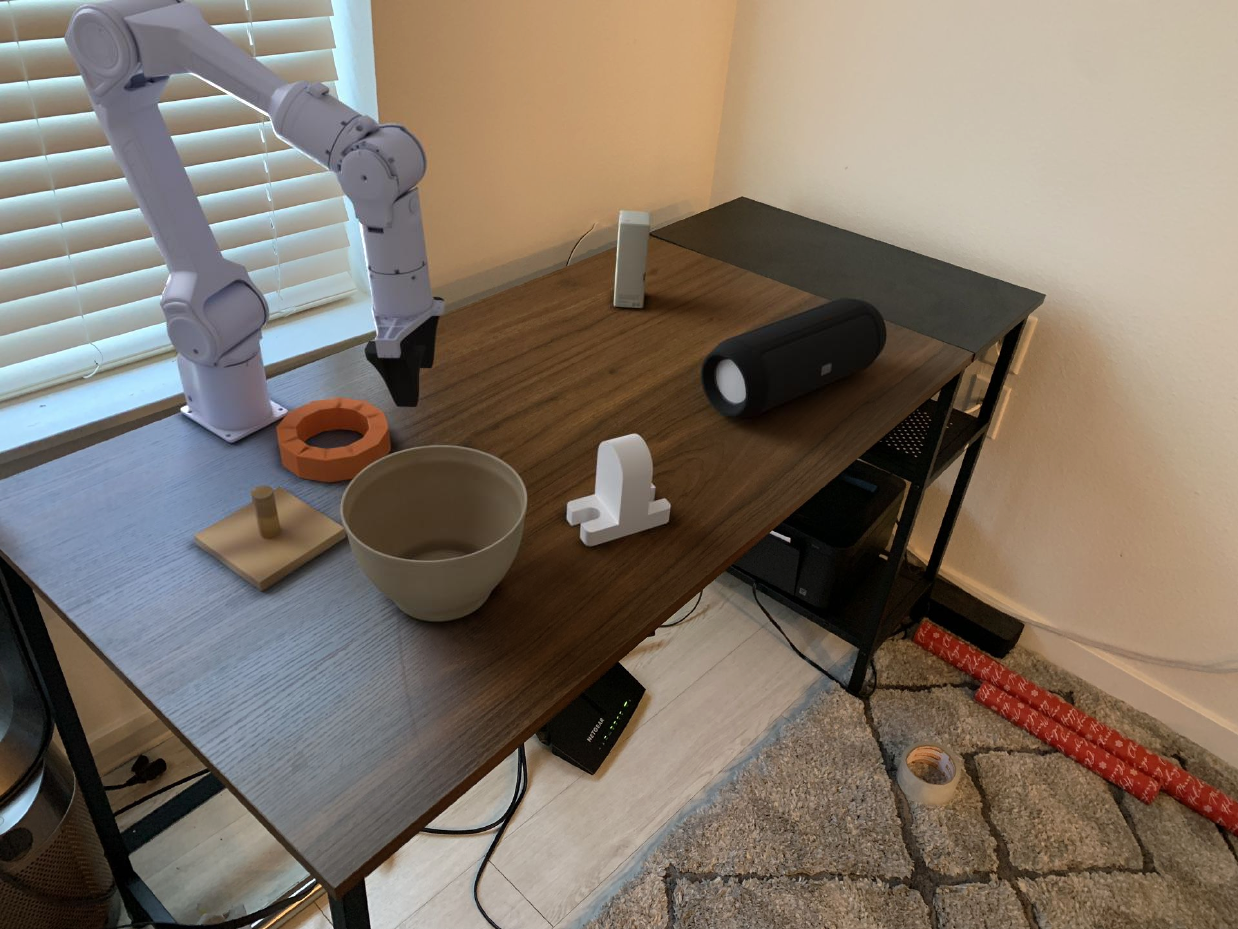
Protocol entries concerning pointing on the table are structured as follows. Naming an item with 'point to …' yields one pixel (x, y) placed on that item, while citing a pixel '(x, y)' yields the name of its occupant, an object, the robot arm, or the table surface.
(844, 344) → the portable speaker
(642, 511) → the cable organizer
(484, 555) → the planter bowl
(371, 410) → the rubber ring
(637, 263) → the box
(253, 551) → the peg stand
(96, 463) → the table surface
